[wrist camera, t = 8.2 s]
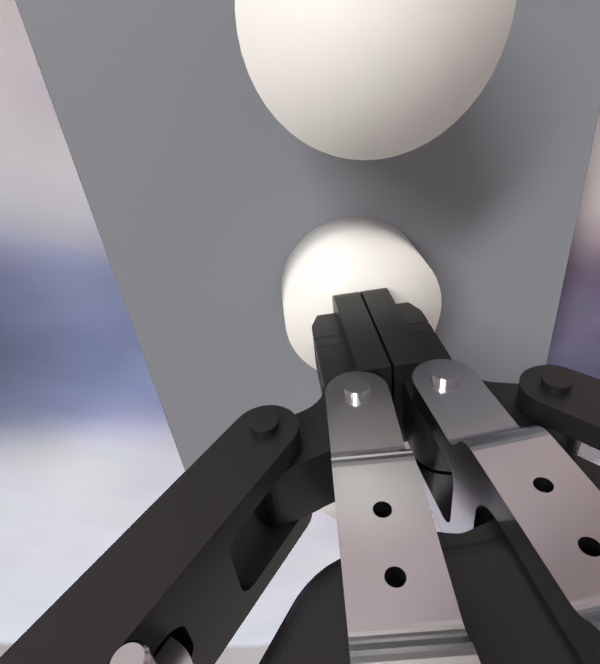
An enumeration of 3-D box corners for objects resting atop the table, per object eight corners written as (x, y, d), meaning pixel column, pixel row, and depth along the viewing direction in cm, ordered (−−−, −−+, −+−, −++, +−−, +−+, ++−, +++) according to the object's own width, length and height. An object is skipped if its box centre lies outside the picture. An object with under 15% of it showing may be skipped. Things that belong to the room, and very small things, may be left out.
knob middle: (267, 197, 16) (274, 254, 12) (395, 179, 16) (445, 230, 12) (284, 308, 19) (295, 388, 14) (396, 292, 19) (438, 367, 14)
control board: (23, -110, 12) (-39, -148, 9) (582, -183, 12) (671, -240, 9) (209, 469, 23) (204, 523, 20) (493, 426, 23) (523, 475, 21)
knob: (223, -88, 10) (205, -168, 6) (423, -115, 10) (539, -212, 6) (256, 128, 13) (259, 175, 9) (419, 106, 13) (500, 142, 9)
